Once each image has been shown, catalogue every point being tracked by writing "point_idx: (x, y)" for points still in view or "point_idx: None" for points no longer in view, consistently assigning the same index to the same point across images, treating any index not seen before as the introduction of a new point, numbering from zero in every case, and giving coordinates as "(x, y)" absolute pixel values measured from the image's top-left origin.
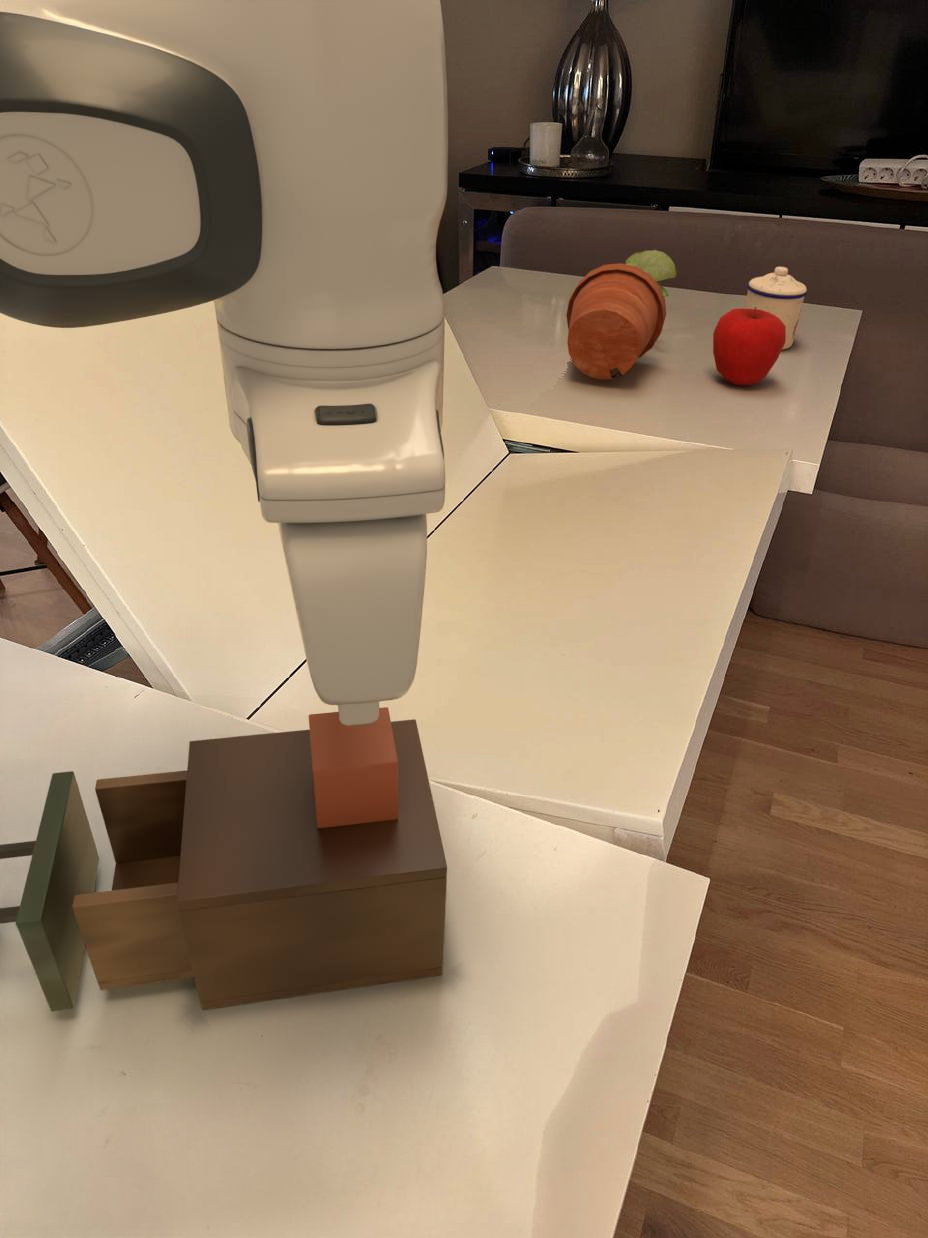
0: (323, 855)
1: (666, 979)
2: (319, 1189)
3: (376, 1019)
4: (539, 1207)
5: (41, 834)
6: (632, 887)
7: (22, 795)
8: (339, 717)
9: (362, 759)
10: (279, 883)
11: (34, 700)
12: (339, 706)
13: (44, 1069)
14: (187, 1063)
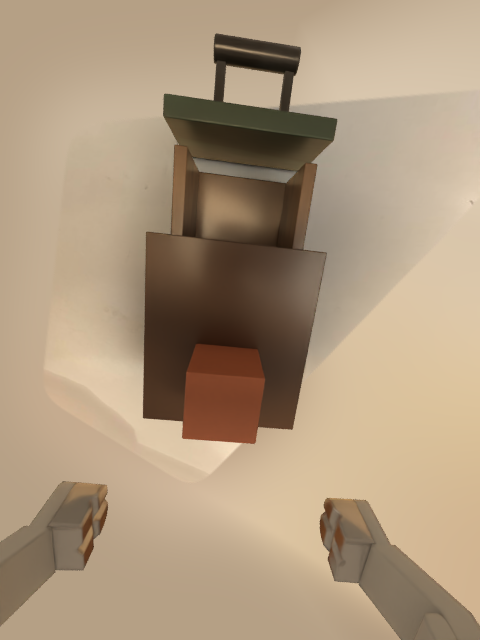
0: (169, 343)
1: (146, 458)
2: (70, 284)
3: None
4: (51, 374)
5: (260, 111)
6: (200, 463)
7: (393, 107)
8: (56, 488)
9: (191, 413)
10: (149, 309)
11: None
12: (42, 508)
13: (157, 138)
14: (145, 224)
